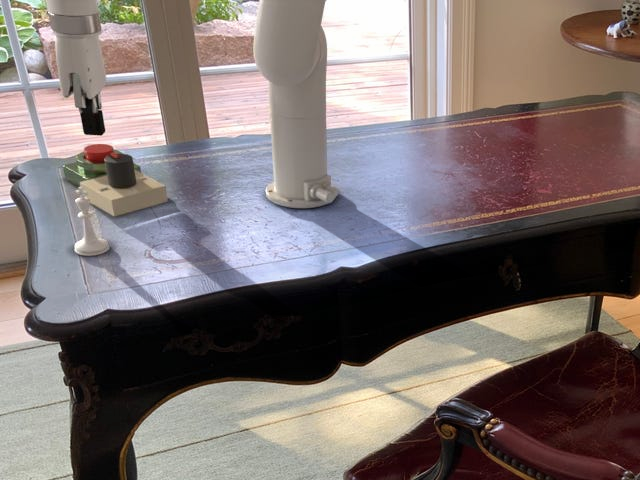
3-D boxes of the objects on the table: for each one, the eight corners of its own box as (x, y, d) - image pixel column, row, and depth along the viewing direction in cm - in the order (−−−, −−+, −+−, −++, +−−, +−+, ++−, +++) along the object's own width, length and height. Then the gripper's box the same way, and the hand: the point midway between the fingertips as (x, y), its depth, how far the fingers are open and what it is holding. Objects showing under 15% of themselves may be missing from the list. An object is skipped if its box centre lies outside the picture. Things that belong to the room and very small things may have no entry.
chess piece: (97, 258, 123) (85, 196, 118) (67, 252, 124) (54, 190, 118) (116, 244, 127) (105, 184, 122) (87, 239, 128) (75, 179, 123)
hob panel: (167, 201, 142) (165, 184, 141) (114, 217, 136) (111, 199, 134) (135, 184, 147) (133, 167, 145) (82, 198, 140) (79, 181, 139)
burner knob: (141, 184, 140) (137, 157, 137) (116, 190, 137) (111, 163, 134) (128, 176, 142) (124, 150, 140) (104, 182, 139) (99, 155, 137)
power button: (105, 151, 148) (104, 141, 147) (120, 158, 146) (118, 149, 145) (80, 157, 145) (78, 147, 144) (94, 164, 143) (92, 155, 142)
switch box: (117, 167, 153) (113, 143, 151) (142, 180, 149) (139, 156, 147) (65, 179, 147) (60, 155, 144) (90, 193, 142) (85, 169, 140)
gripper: (66, 12, 139) (85, 119, 149) (35, 32, 126) (58, 147, 136) (112, 15, 140) (128, 121, 150) (86, 35, 127) (105, 149, 137)
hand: (94, 133), depth 143 cm, fingers closed
